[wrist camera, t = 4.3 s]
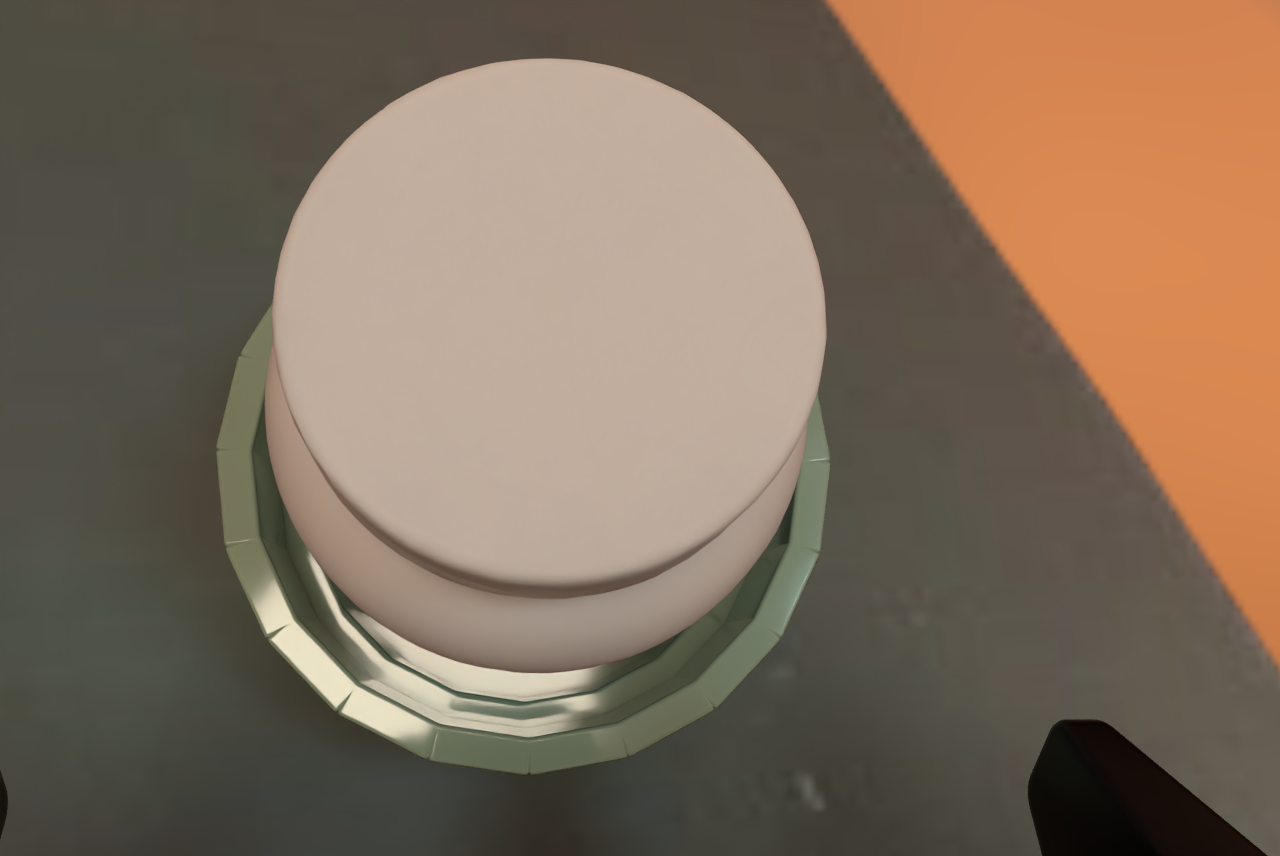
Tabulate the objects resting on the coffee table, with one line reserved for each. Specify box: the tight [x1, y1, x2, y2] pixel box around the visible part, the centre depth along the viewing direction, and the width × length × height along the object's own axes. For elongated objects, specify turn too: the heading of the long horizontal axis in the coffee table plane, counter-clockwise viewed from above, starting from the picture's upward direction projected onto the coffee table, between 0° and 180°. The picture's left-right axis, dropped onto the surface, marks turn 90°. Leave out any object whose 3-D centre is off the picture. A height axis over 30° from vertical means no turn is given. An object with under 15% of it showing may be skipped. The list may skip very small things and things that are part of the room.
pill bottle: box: [265, 58, 827, 673], centre depth 14 cm, size 6×6×11 cm
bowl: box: [216, 302, 831, 775], centre depth 18 cm, size 9×9×4 cm
